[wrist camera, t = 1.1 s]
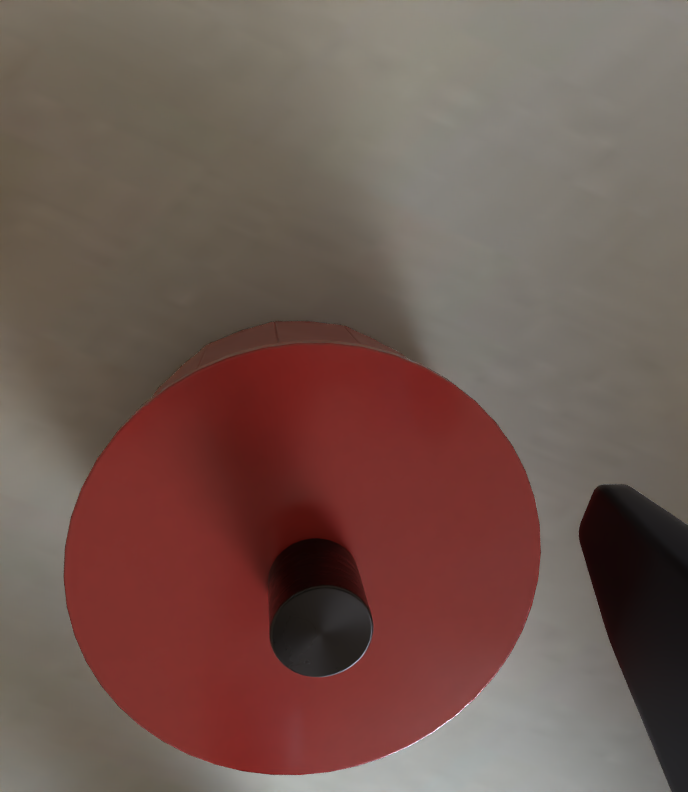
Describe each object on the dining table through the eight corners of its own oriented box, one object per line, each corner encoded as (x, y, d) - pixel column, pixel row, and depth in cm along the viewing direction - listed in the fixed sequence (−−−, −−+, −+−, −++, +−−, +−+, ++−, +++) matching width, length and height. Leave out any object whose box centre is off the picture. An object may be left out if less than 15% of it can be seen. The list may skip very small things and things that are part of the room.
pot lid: (495, 739, 20) (541, 839, 17) (80, 754, 19) (41, 869, 15) (556, 348, 17) (627, 377, 14) (68, 321, 16) (16, 346, 12)
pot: (436, 621, 26) (491, 743, 20) (131, 624, 24) (89, 758, 18) (472, 330, 23) (549, 366, 17) (130, 310, 21) (79, 343, 15)
